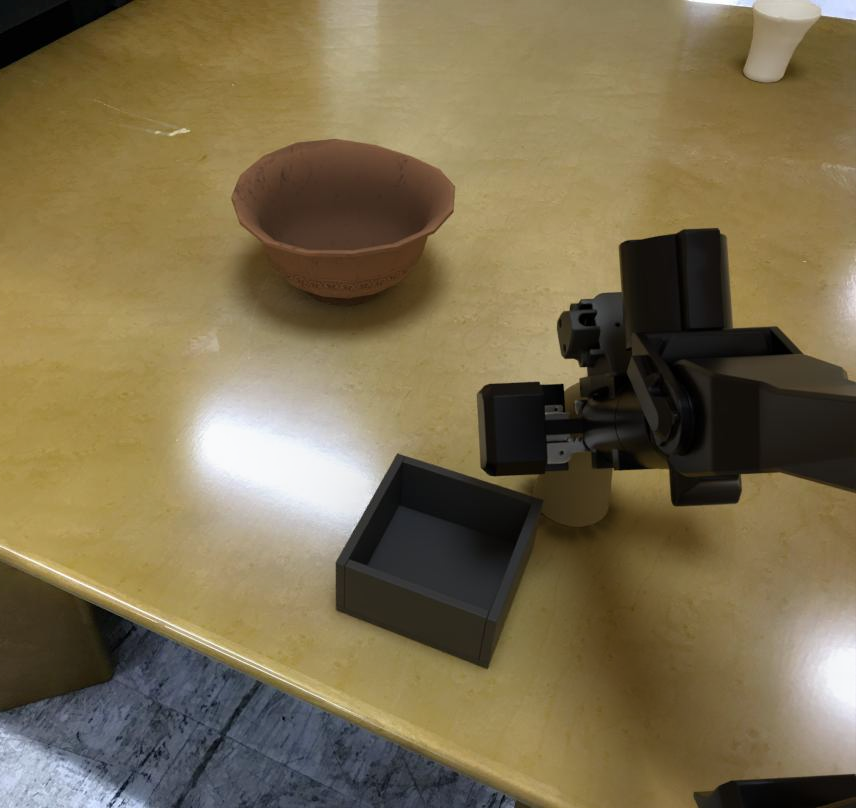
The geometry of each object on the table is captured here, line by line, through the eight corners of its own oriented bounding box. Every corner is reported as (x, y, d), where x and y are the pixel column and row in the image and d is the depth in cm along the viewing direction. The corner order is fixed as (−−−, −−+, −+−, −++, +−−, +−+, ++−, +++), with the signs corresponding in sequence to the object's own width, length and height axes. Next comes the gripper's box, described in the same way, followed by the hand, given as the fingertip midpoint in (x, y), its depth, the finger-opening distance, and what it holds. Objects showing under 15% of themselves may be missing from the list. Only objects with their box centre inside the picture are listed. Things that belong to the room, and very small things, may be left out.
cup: (725, 81, 130) (747, 10, 123) (740, 59, 135) (761, -11, 129) (790, 94, 126) (816, 21, 119) (803, 70, 132) (828, 0, 125)
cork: (594, 538, 69) (624, 436, 62) (520, 507, 72) (540, 406, 64) (619, 488, 73) (650, 386, 65) (548, 460, 75) (570, 359, 68)
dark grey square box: (532, 548, 69) (544, 499, 65) (487, 669, 61) (497, 622, 57) (394, 501, 72) (397, 452, 69) (335, 609, 65) (335, 562, 61)
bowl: (385, 208, 106) (388, 120, 98) (489, 308, 91) (502, 213, 84) (209, 256, 99) (199, 165, 92) (291, 372, 84) (286, 275, 77)
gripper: (808, 279, 54) (694, 317, 69) (498, 293, 53) (454, 328, 69) (821, 465, 53) (703, 461, 69) (509, 480, 53) (461, 472, 68)
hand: (580, 427), depth 69 cm, fingers closed on cork, 5 cm apart
